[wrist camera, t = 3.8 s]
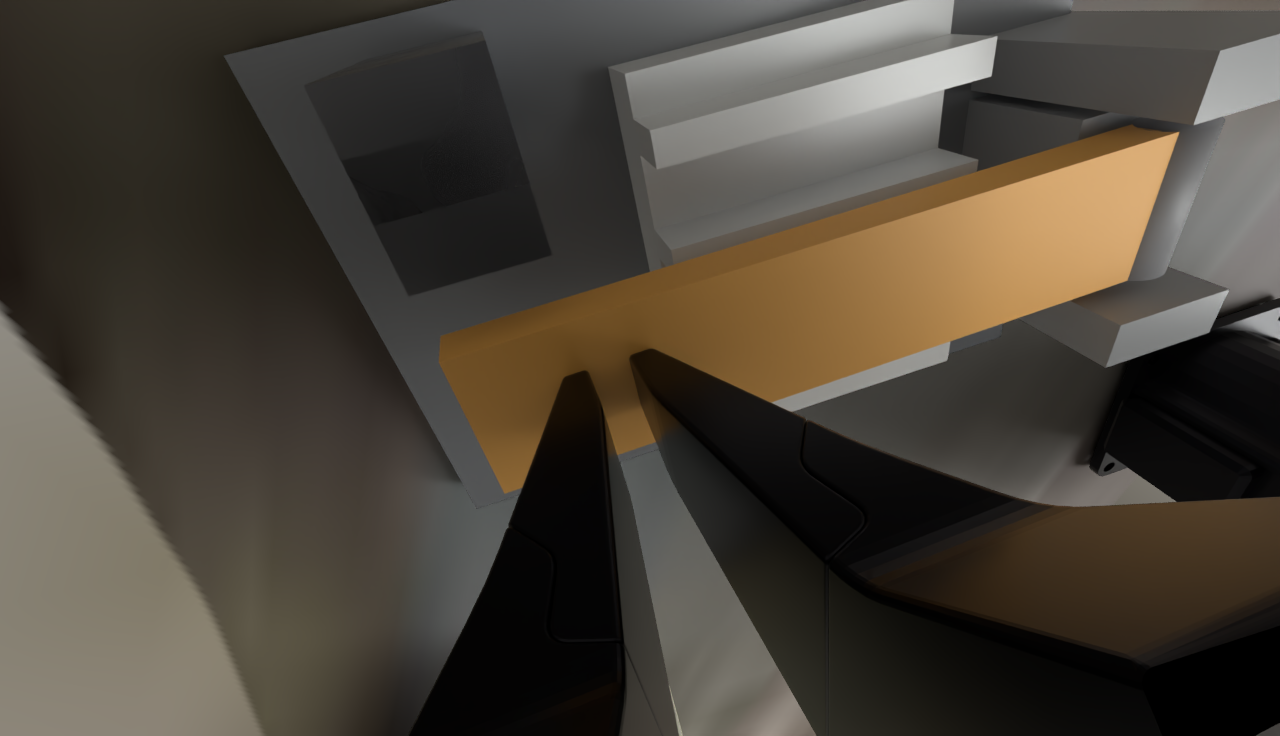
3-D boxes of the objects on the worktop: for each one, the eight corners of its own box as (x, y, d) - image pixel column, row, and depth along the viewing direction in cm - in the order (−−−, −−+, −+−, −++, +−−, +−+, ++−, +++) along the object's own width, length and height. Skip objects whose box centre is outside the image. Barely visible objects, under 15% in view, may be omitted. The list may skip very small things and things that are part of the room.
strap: (1169, 107, 10) (1245, 117, 9) (1123, 248, 12) (1182, 269, 11) (440, 329, 9) (438, 369, 8) (501, 455, 10) (505, 501, 9)
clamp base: (1069, -147, 11) (1489, -260, 6) (981, 320, 17) (1162, 429, 13) (245, 52, 10) (33, 87, 5) (476, 483, 16) (476, 674, 11)
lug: (481, 29, 10) (485, 40, 6) (525, 170, 12) (552, 255, 8) (374, 55, 10) (303, 85, 6) (432, 195, 11) (408, 296, 7)
